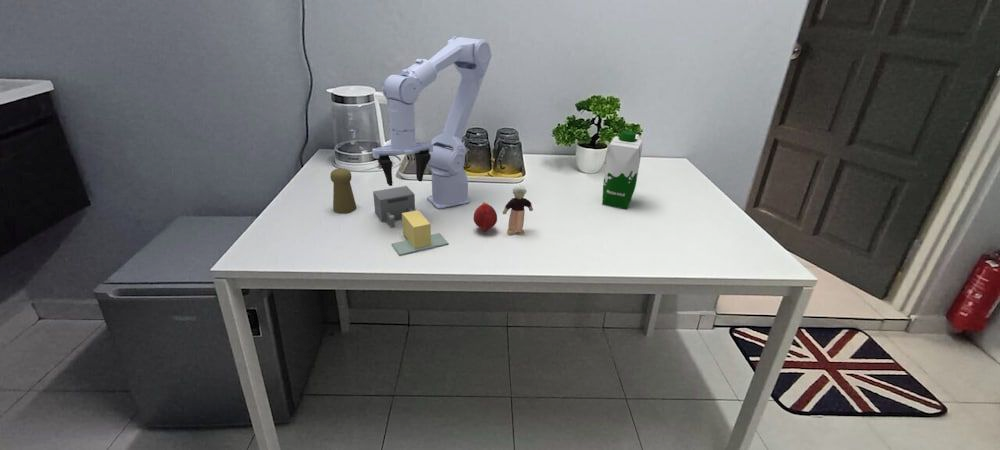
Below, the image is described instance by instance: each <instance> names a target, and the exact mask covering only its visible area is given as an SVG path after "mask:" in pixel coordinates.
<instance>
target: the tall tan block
mask: <svg viewBox="0 0 1000 450" xmlns="http://www.w3.org/2000/svg"><path fill="white" fill-rule="evenodd" d="M401 219H402V233H403V236H404V237H405V238H406V240H409V242H410V243H411V244H412V245H413V247H414V248H419V247H424V246H428V245H431V235H432V231H431V230H432V227H431V225H432V224H431V222H429V221H428V219H427V218H426V217H425V216H424V215H423V214H422V213H421V212H420V211H419V209H415V211H410V212H405V213H402V218H401Z"/></svg>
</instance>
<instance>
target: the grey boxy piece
mask: <svg viewBox="0 0 1000 450" xmlns="http://www.w3.org/2000/svg"><path fill="white" fill-rule="evenodd" d="M372 195H373V204H374V212H375V214H376V216H377V217H378V218H379V220H380V221H381V222H387V223H386V224H388V225H389V227H390V228H395V226H396V224H395V223H396V221H395V220H397V219H402V213H405V212H410V211H416V199H415V193H414V192H413V191H412V190H411V189H410V188H409V187H408V185H403V186H398V187H392V188H387V189H379V190H374V191H373V194H372Z"/></svg>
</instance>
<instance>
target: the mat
mask: <svg viewBox="0 0 1000 450" xmlns="http://www.w3.org/2000/svg"><path fill="white" fill-rule="evenodd" d="M449 244H450V243H449V241H447V240H446V239H445V237H444V236H443V235H442V234H441V233H439V232H437V233H431V245H428V246H424V247H419V248H414V247H413V245H412V244H411V243H410V242H409V240H408V239H406V240H402V241H396V242H392V243H391V246H392V247H393V249H394V251H396V253H397V255H398V256H400V257H402V256H404V255H409V254H413V253H417V252H422V251H426V250H431V249H434V248H435V249H436V248H440V247H444V246H448V245H449Z"/></svg>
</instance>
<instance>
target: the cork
mask: <svg viewBox="0 0 1000 450" xmlns="http://www.w3.org/2000/svg"><path fill="white" fill-rule="evenodd" d="M351 180H352V173H351V170H349V169H347V168H346V167H345V168H342V167H341V168H335V169H333V170H332V171H331V172H330V181H331V182H332V183H333V199H332V200H333V201H332V202H333V203H332V205H333V206H332V210H333V212H334V213H336V214H340V215H341V214H350V213H353V212H355V211H356V210H357V209H358V208H357V203H356V200H355V194H354V192H353V188H352V185H351Z"/></svg>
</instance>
